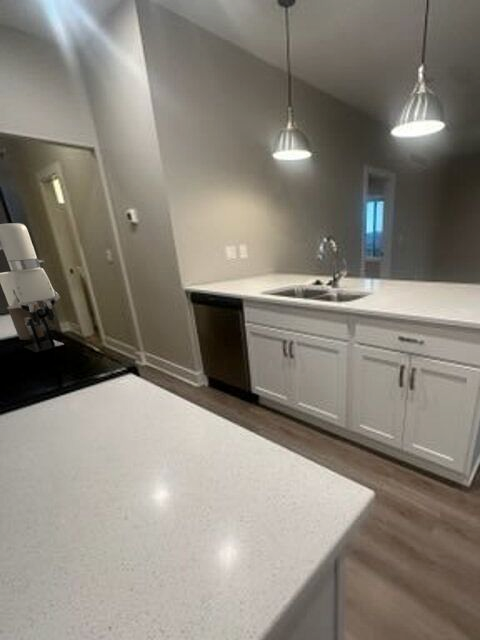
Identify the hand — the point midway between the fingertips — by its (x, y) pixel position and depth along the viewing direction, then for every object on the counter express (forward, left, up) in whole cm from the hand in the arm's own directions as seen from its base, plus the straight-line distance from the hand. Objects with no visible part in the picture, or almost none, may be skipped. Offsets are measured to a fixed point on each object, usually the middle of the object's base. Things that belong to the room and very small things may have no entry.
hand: (44, 321), depth 115 cm
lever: (-2, +3, -1) cm, 4 cm away
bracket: (-5, +8, -11) cm, 15 cm away
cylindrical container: (-16, +36, -12) cm, 41 cm away
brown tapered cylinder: (-12, +25, -12) cm, 30 cm away
